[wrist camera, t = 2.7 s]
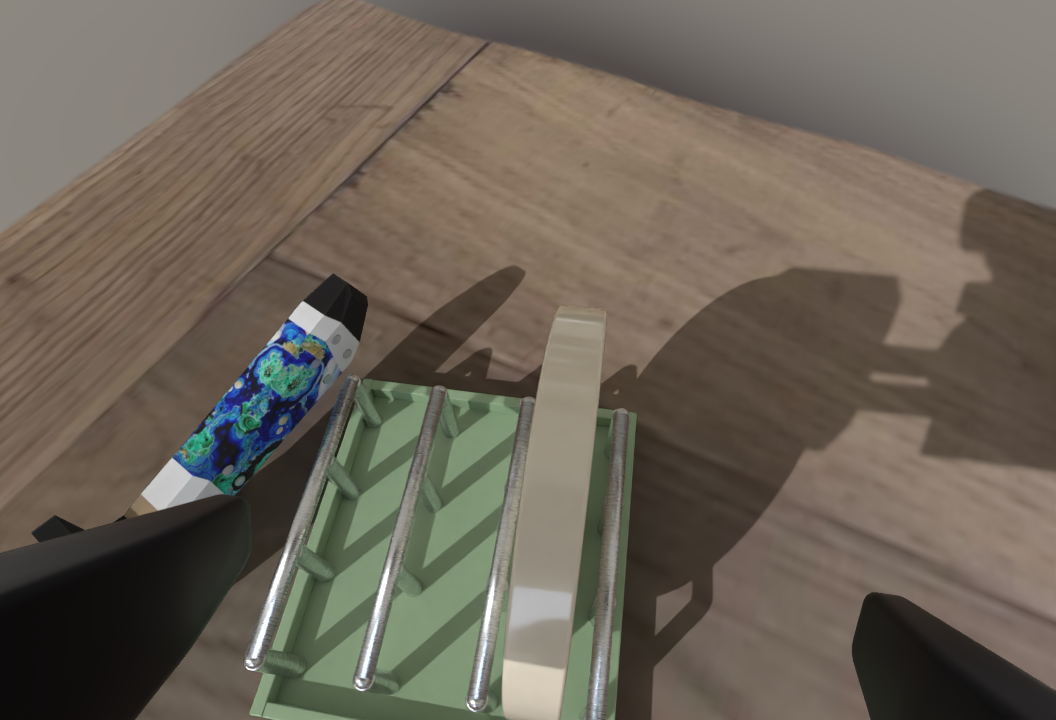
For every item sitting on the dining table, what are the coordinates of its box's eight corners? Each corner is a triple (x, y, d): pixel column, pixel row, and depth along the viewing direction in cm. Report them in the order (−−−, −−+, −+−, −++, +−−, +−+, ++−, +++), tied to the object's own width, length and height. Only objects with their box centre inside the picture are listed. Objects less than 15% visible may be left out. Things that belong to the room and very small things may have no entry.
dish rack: (606, 780, 17) (620, 796, 14) (266, 714, 18) (202, 714, 15) (632, 427, 23) (646, 376, 19) (371, 393, 24) (342, 340, 20)
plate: (559, 726, 17) (570, 737, 8) (513, 718, 17) (473, 718, 9) (594, 417, 22) (622, 222, 14) (557, 413, 22) (561, 217, 14)
